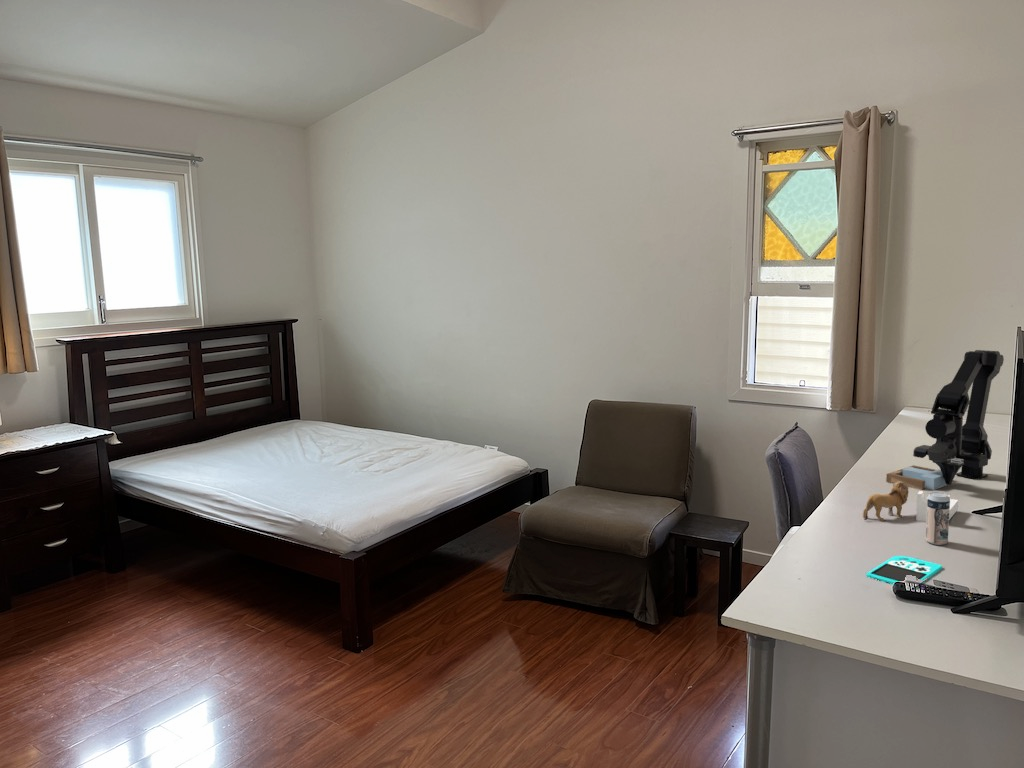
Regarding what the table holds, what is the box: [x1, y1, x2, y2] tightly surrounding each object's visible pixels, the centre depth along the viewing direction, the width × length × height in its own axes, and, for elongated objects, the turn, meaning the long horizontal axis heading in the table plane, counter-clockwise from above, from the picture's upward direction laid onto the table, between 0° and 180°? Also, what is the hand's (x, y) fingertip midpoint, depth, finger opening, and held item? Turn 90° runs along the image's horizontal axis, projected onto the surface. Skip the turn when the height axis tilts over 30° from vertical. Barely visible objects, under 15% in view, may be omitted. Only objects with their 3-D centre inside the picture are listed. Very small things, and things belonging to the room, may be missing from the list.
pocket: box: [885, 465, 937, 491], centre depth 229 cm, size 15×11×2 cm
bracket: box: [915, 490, 959, 523], centre depth 198 cm, size 13×7×8 cm, turn 139°
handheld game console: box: [865, 555, 943, 585], centre depth 165 cm, size 10×16×1 cm, turn 130°
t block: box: [902, 466, 948, 491], centre depth 227 cm, size 10×11×4 cm
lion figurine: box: [862, 481, 909, 522], centre depth 199 cm, size 15×5×9 cm, turn 114°
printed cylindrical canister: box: [925, 491, 951, 546], centre depth 180 cm, size 5×5×12 cm
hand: (948, 484), depth 222 cm, fingers closed
